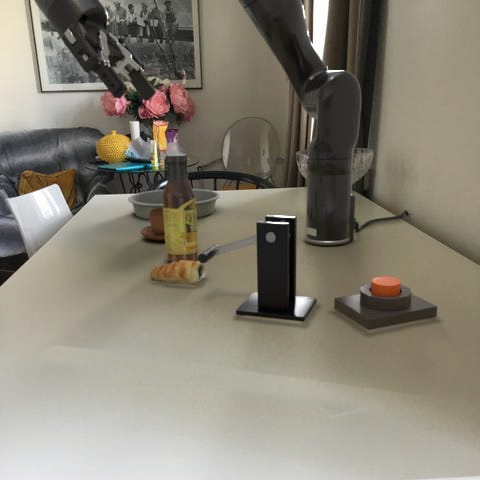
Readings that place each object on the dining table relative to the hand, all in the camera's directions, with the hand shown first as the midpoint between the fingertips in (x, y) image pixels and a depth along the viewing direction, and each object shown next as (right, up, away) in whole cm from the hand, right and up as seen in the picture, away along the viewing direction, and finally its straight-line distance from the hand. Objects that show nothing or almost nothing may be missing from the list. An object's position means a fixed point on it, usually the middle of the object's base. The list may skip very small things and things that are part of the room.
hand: (137, 95), depth 82 cm
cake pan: (-3, -3, +72) cm, 72 cm away
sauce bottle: (+4, -21, +28) cm, 36 cm away
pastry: (+5, -26, +16) cm, 31 cm away
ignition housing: (+35, -32, -1) cm, 48 cm away
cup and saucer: (-1, -14, +45) cm, 48 cm away
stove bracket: (+20, -31, +1) cm, 37 cm away
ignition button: (+35, -29, -3) cm, 46 cm away
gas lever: (+16, -23, -1) cm, 28 cm away
